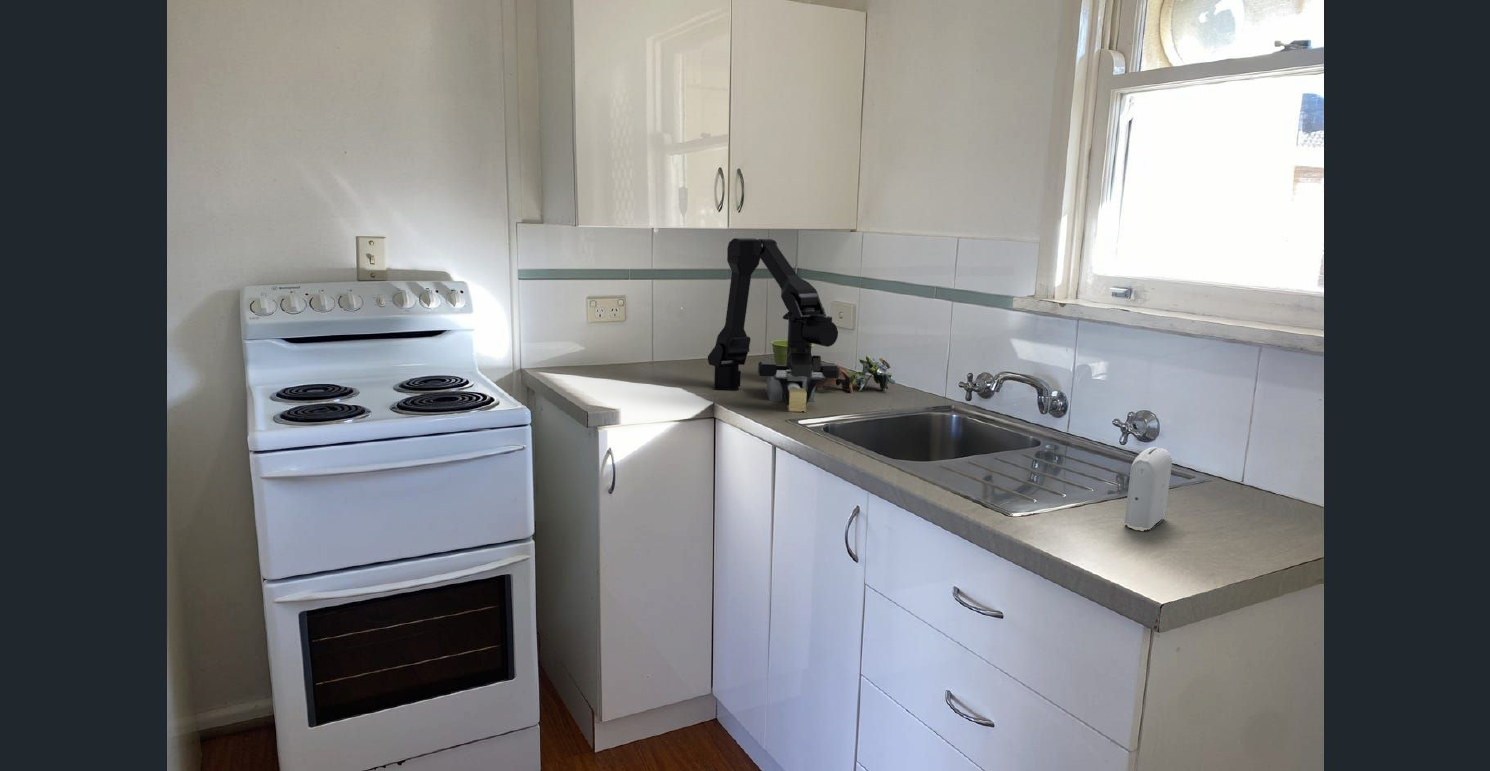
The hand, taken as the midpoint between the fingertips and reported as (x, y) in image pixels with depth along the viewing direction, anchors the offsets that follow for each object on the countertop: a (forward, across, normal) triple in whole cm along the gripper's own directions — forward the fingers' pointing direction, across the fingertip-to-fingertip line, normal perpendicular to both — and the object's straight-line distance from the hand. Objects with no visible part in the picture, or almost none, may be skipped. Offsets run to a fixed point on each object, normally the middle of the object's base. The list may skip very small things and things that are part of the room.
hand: (796, 404), depth 219 cm
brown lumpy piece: (+2, +13, +24) cm, 27 cm away
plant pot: (+2, +2, +32) cm, 33 cm away
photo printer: (+1, +48, -77) cm, 90 cm away
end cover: (+1, 0, +6) cm, 6 cm away
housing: (+1, 0, +15) cm, 15 cm away
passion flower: (+2, +22, +25) cm, 33 cm away
